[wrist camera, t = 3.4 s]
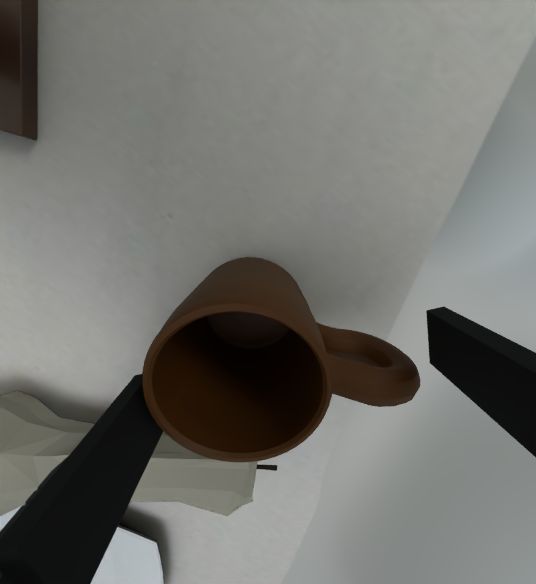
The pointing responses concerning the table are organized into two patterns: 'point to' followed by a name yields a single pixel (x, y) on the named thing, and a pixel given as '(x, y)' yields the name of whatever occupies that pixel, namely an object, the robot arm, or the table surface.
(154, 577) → the plate
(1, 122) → the pedestal tray stand
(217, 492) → the faceted club
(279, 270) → the mug
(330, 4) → the table surface
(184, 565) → the table surface
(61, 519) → the robot arm
